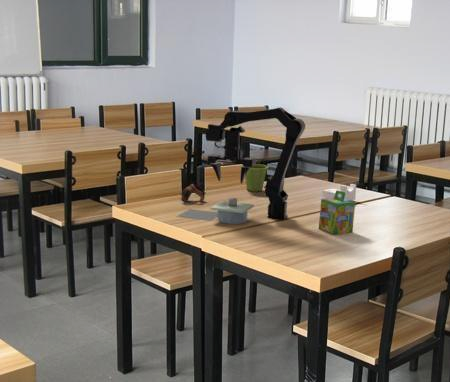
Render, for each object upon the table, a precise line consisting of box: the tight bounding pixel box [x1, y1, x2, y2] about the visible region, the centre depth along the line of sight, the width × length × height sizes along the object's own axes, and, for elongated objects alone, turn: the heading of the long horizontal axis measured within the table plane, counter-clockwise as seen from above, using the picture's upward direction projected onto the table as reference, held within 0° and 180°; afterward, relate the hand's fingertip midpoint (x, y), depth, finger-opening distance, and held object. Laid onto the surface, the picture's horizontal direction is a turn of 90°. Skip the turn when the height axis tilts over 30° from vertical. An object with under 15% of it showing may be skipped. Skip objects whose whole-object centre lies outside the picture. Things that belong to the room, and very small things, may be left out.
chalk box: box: [318, 189, 356, 235], centre depth 259 cm, size 9×9×15 cm
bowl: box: [216, 210, 248, 225], centre depth 269 cm, size 11×11×5 cm
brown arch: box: [180, 183, 207, 203], centre depth 299 cm, size 12×10×8 cm
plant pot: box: [244, 163, 269, 192], centre depth 327 cm, size 12×12×11 cm
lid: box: [210, 197, 255, 213], centre depth 268 cm, size 13×13×4 cm
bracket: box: [322, 183, 357, 201], centre depth 315 cm, size 13×7×8 cm, turn 39°
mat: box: [175, 208, 217, 222], centre depth 275 cm, size 14×14×1 cm
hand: (230, 182), depth 281 cm, fingers open, 9 cm apart
